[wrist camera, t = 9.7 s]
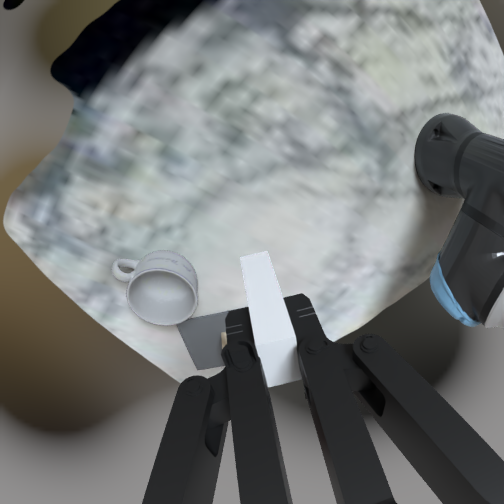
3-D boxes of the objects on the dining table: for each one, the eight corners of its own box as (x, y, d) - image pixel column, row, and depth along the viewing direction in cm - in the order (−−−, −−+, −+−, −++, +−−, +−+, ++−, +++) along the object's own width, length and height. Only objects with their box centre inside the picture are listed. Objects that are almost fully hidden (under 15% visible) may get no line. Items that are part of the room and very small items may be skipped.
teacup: (212, 270, 52) (212, 299, 45) (171, 307, 55) (167, 338, 48) (147, 216, 46) (136, 239, 39) (108, 261, 49) (95, 288, 42)
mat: (293, 296, 57) (293, 298, 56) (299, 348, 64) (300, 349, 63) (175, 321, 56) (175, 322, 56) (197, 368, 63) (197, 370, 63)
